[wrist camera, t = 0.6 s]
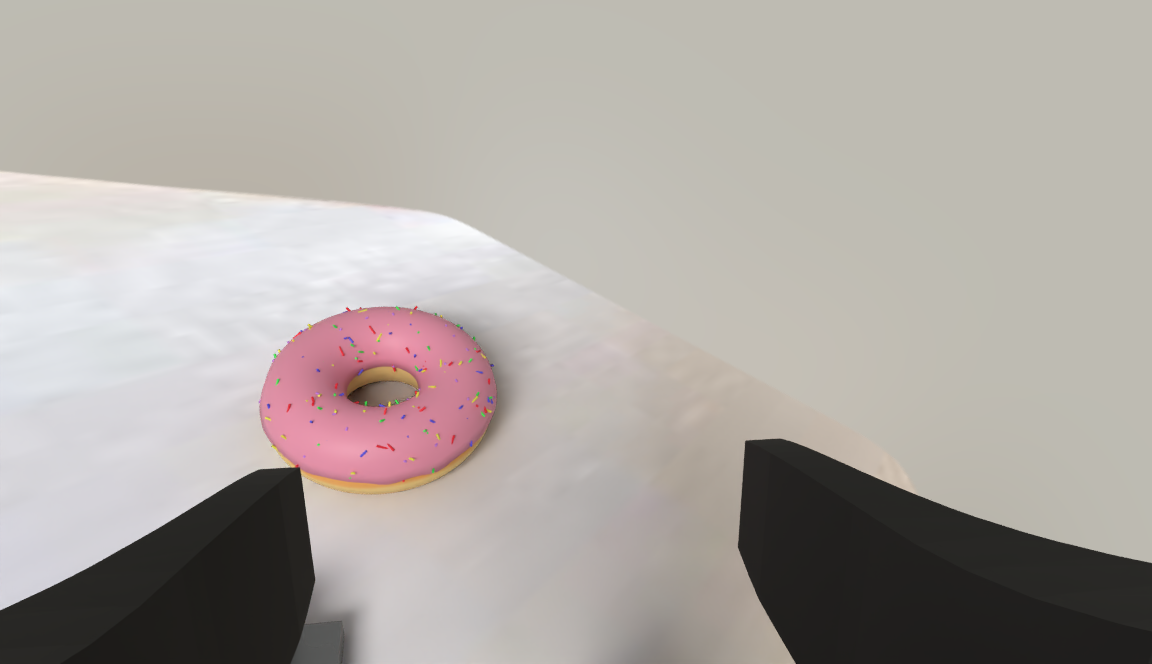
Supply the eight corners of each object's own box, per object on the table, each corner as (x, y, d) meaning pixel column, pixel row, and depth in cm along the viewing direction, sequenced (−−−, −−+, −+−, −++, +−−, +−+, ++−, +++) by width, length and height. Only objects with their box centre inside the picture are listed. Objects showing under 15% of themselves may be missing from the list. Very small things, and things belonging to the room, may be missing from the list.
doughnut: (255, 529, 29) (237, 466, 26) (275, 354, 37) (262, 292, 34) (511, 496, 32) (518, 436, 29) (478, 340, 40) (481, 283, 37)
